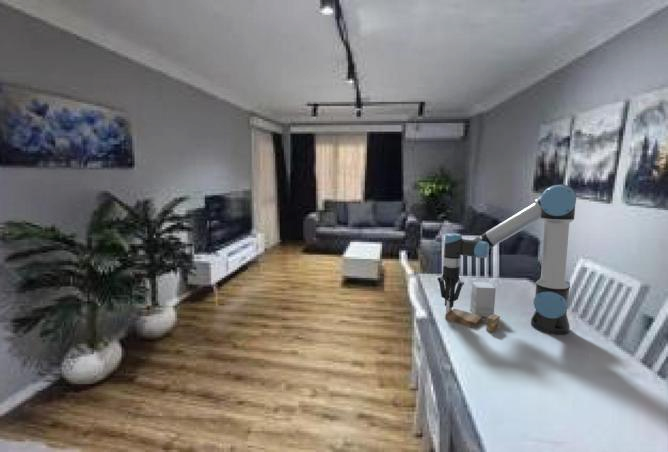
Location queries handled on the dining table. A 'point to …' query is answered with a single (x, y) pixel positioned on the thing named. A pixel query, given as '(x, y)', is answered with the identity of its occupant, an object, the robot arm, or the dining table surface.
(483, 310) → the supplement box
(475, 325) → the brown wooden slab
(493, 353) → the dining table surface
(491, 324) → the bench dog
